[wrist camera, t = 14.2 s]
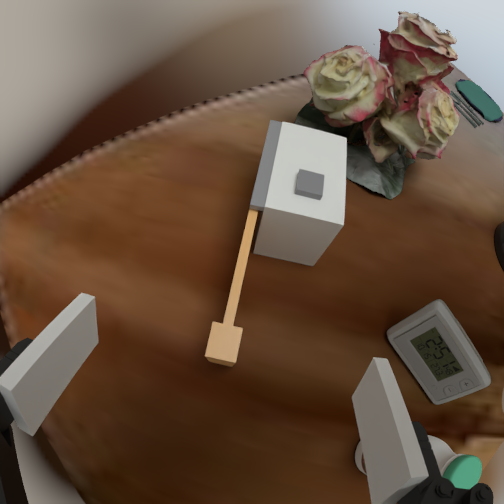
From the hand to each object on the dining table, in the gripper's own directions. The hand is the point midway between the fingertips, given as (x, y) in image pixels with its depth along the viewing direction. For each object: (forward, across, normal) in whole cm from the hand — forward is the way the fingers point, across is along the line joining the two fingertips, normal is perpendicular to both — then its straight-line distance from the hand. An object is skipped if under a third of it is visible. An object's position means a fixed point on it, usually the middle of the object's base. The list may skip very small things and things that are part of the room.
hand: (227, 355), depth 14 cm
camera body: (+37, +5, -3) cm, 37 cm away
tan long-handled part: (+25, -1, -12) cm, 28 cm away
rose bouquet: (+52, +18, +12) cm, 57 cm away
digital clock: (+24, +29, -16) cm, 41 cm away
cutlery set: (+81, +60, +40) cm, 108 cm away
